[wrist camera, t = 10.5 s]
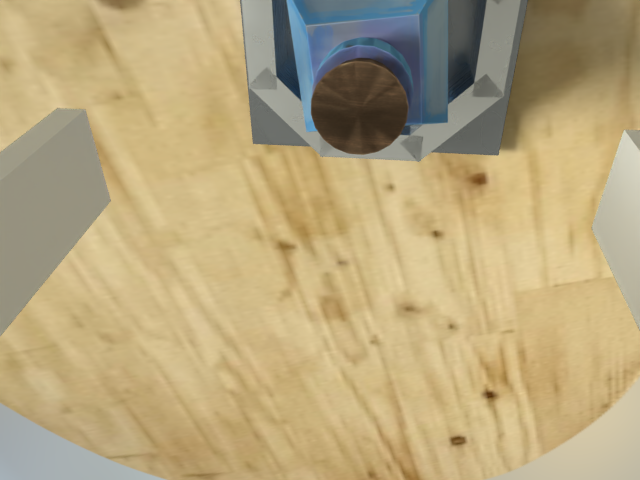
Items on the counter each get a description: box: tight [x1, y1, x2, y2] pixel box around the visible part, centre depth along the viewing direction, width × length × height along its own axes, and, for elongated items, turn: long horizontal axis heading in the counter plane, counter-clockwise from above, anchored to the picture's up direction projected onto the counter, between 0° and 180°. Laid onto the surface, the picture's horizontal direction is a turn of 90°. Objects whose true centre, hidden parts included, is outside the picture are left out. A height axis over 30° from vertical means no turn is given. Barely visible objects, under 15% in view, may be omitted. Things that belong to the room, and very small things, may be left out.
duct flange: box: [240, 0, 528, 162], centre depth 27 cm, size 14×14×4 cm
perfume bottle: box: [287, 0, 448, 155], centre depth 23 cm, size 6×6×12 cm
